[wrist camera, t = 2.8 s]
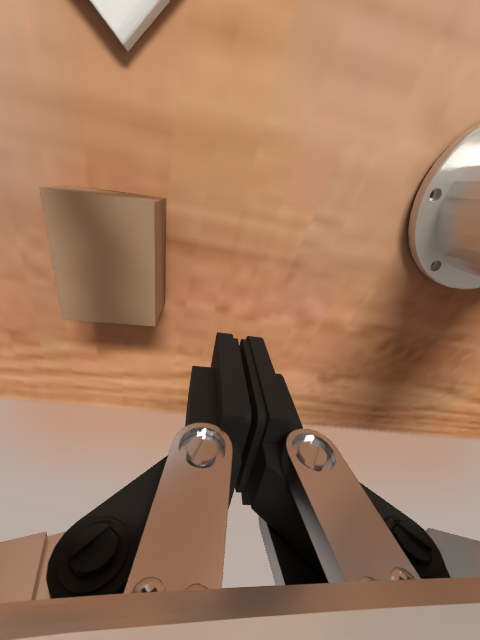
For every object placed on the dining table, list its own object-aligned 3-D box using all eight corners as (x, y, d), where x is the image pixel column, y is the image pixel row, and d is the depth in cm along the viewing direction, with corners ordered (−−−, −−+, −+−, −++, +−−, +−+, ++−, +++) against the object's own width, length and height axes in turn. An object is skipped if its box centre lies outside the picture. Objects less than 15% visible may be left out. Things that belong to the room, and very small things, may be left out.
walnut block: (166, 197, 20) (154, 202, 16) (165, 301, 23) (155, 326, 19) (76, 185, 19) (39, 187, 15) (89, 294, 22) (62, 319, 18)
